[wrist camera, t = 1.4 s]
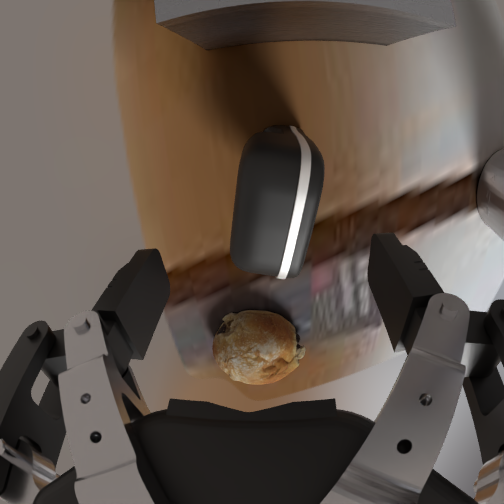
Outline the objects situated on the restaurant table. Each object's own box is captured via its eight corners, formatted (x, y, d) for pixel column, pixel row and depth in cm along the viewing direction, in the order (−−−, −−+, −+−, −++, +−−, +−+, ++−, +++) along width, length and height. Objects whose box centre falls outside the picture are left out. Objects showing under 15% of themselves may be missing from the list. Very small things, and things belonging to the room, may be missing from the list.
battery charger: (254, 117, 20) (234, 141, 10) (303, 125, 20) (332, 158, 10) (243, 199, 24) (220, 285, 14) (288, 206, 24) (295, 296, 14)
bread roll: (258, 278, 33) (221, 310, 26) (326, 334, 31) (305, 379, 24) (222, 327, 37) (187, 359, 31) (280, 374, 36) (254, 415, 29)
